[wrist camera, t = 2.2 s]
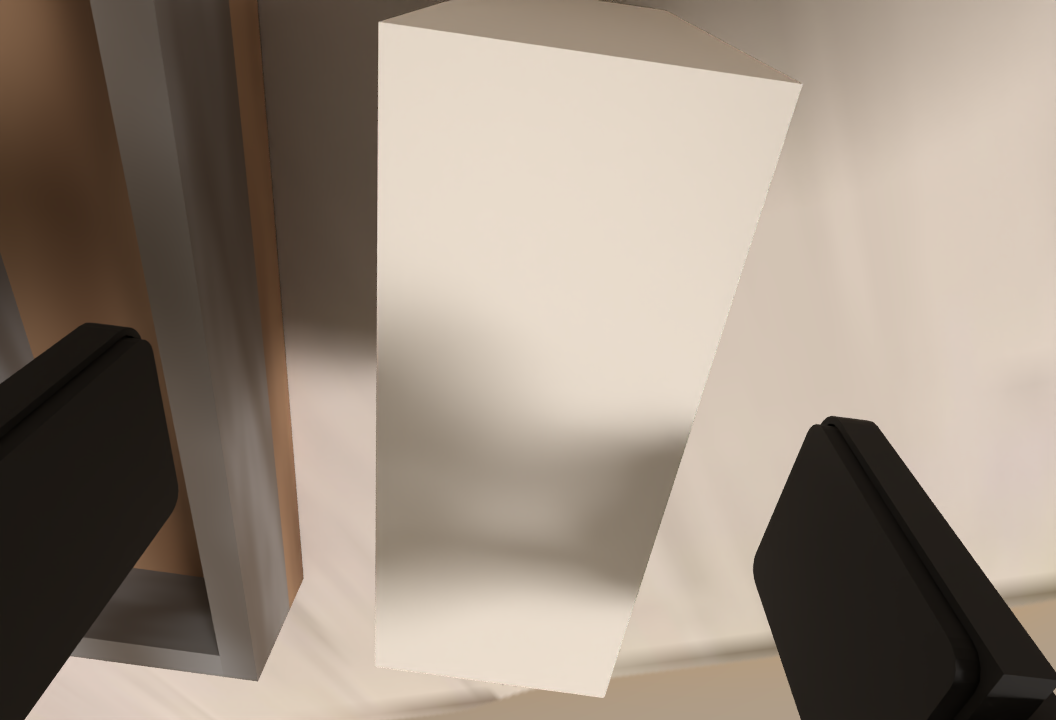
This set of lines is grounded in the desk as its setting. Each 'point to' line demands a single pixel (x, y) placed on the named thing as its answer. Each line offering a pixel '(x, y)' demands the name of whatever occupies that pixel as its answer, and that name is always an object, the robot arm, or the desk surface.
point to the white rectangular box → (548, 316)
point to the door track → (162, 293)
